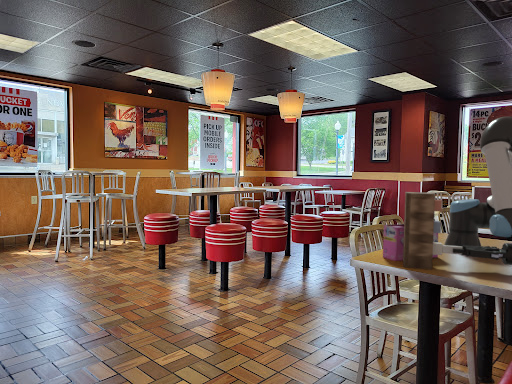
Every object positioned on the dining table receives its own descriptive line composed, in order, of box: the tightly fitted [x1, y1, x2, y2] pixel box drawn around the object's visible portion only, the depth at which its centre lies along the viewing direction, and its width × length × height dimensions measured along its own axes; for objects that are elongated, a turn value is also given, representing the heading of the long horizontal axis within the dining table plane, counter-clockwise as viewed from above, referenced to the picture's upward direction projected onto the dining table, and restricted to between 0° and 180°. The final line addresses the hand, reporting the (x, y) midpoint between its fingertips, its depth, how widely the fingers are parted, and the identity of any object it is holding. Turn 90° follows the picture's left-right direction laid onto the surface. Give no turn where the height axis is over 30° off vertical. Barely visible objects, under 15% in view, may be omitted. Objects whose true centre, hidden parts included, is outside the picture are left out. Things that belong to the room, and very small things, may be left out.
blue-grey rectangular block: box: [434, 220, 442, 234], centre depth 142 cm, size 9×4×4 cm, turn 71°
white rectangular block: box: [433, 241, 443, 256], centre depth 142 cm, size 9×4×4 cm, turn 71°
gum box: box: [382, 223, 439, 262], centre depth 158 cm, size 24×8×14 cm, turn 112°
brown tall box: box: [402, 191, 436, 271], centre depth 143 cm, size 10×10×27 cm
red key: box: [434, 199, 443, 212], centre depth 142 cm, size 9×4×4 cm, turn 71°
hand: (442, 249), depth 141 cm, fingers closed
